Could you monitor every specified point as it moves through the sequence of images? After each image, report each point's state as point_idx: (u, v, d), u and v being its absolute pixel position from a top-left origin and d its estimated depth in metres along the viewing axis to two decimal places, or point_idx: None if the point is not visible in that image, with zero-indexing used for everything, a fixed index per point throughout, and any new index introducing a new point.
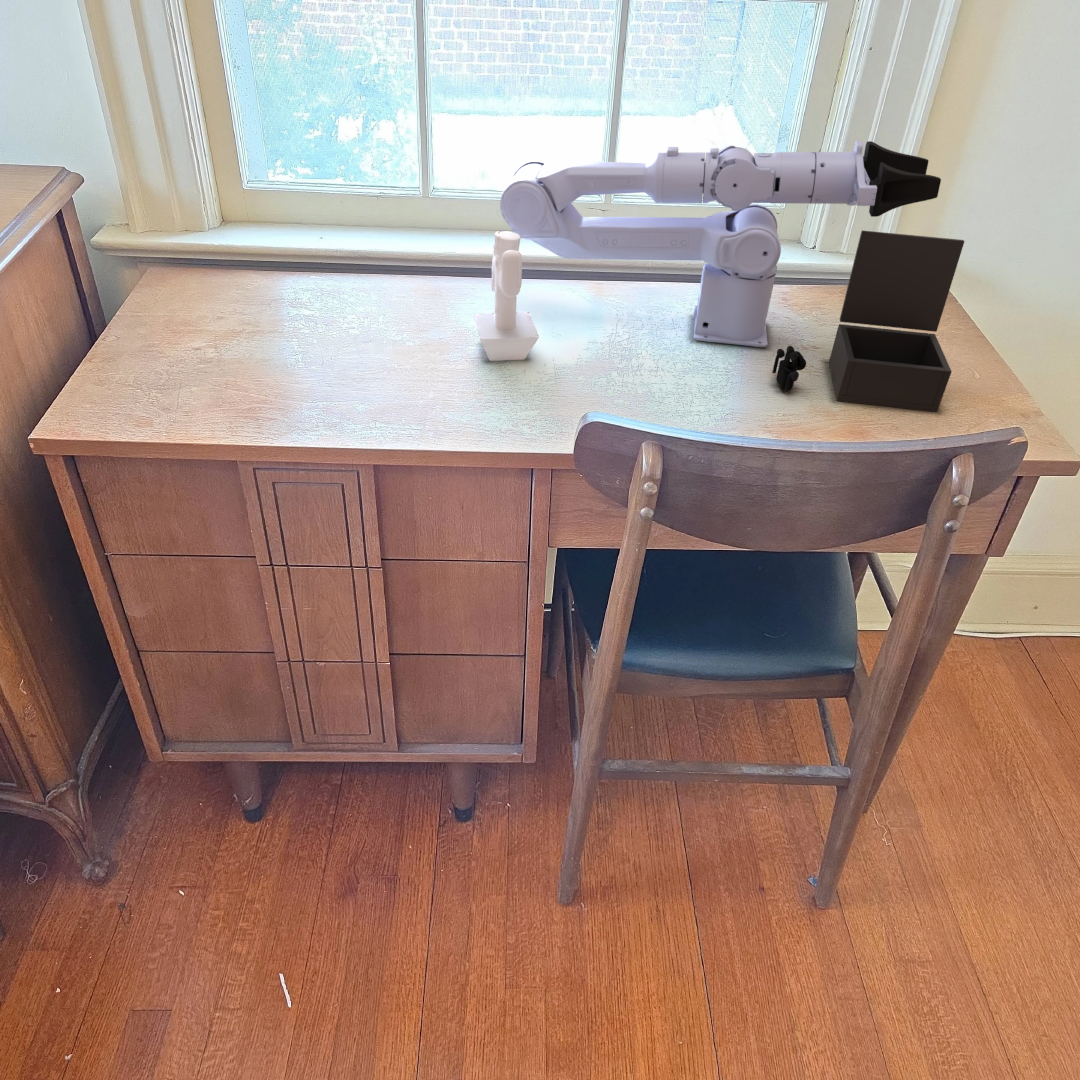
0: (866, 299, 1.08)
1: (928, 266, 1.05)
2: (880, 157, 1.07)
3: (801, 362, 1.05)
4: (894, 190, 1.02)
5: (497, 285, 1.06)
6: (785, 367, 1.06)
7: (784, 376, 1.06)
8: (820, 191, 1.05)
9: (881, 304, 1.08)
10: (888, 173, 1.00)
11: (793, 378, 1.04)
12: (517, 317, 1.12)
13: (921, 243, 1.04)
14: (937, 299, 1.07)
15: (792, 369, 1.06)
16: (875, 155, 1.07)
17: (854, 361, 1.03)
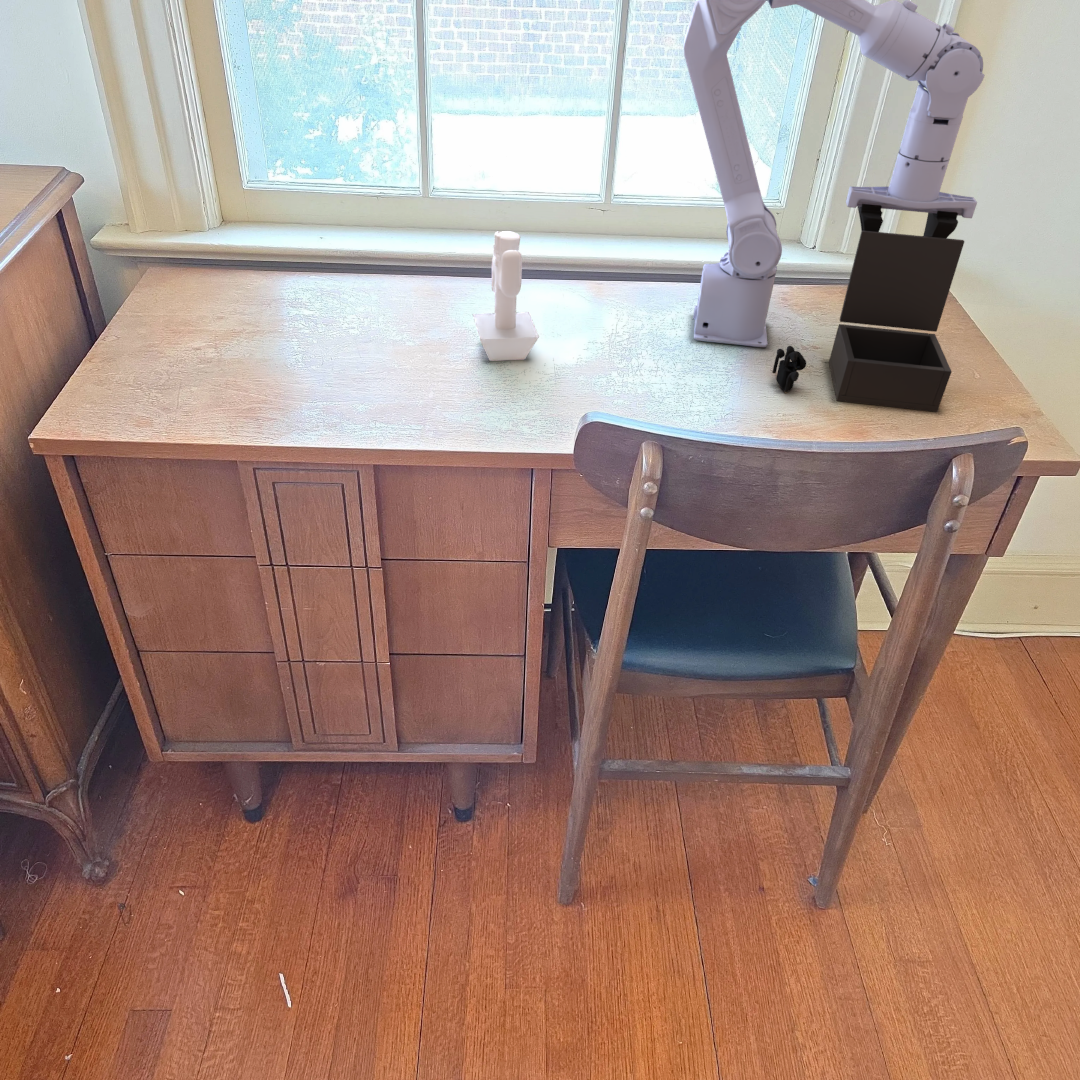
0: (866, 299, 1.08)
1: (928, 266, 1.05)
2: None
3: (801, 362, 1.05)
4: None
5: (497, 285, 1.06)
6: (785, 367, 1.06)
7: (784, 376, 1.06)
8: None
9: (881, 304, 1.08)
10: None
11: (793, 378, 1.04)
12: (517, 317, 1.12)
13: (921, 243, 1.04)
14: (937, 299, 1.07)
15: (792, 369, 1.06)
16: None
17: (854, 361, 1.03)
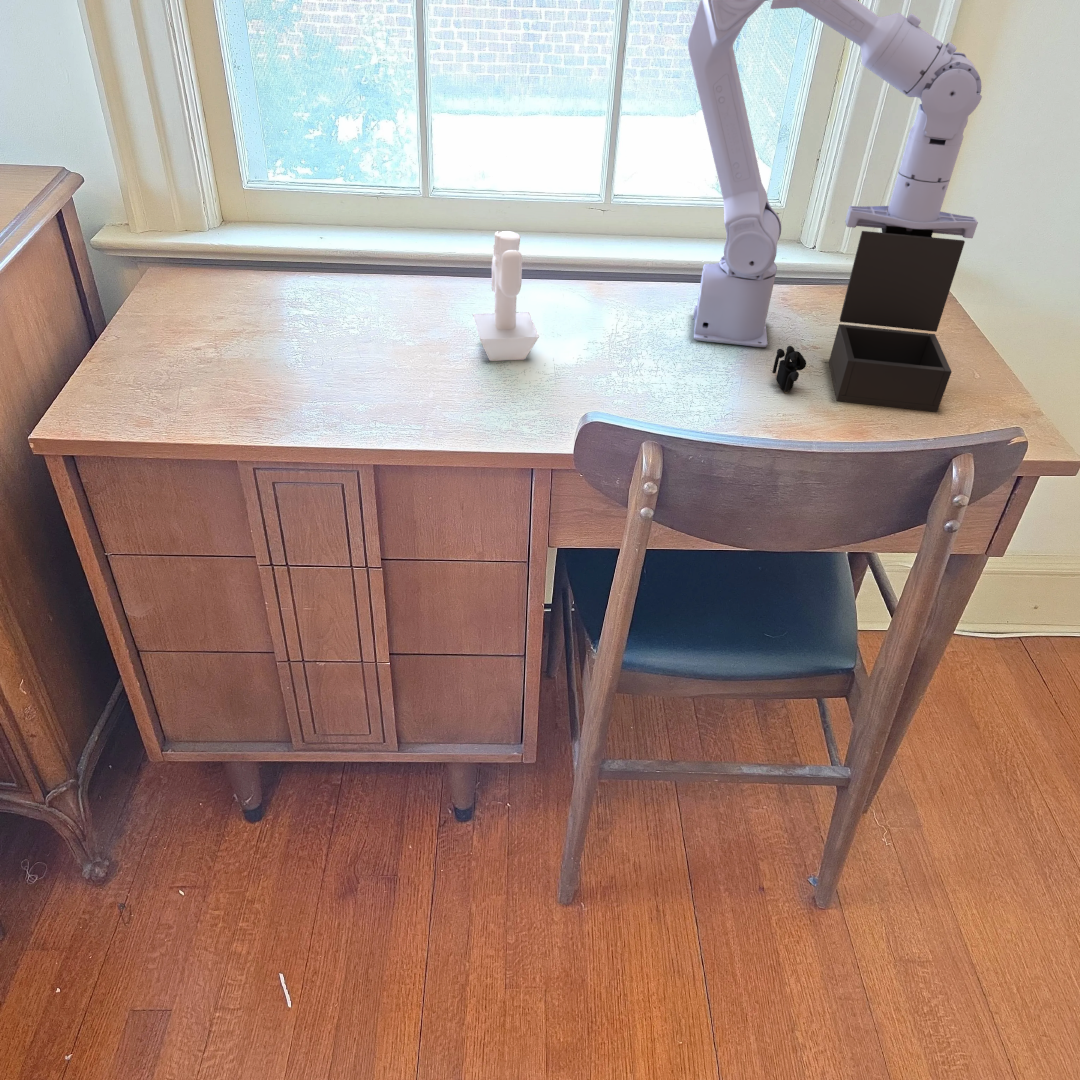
0: (866, 299, 1.08)
1: (928, 266, 1.05)
2: None
3: (801, 362, 1.05)
4: None
5: (497, 285, 1.06)
6: (785, 367, 1.06)
7: (784, 376, 1.06)
8: (947, 186, 1.02)
9: (881, 304, 1.08)
10: None
11: (793, 378, 1.04)
12: (517, 317, 1.12)
13: (921, 243, 1.04)
14: (937, 300, 1.07)
15: (792, 369, 1.06)
16: None
17: (854, 361, 1.03)
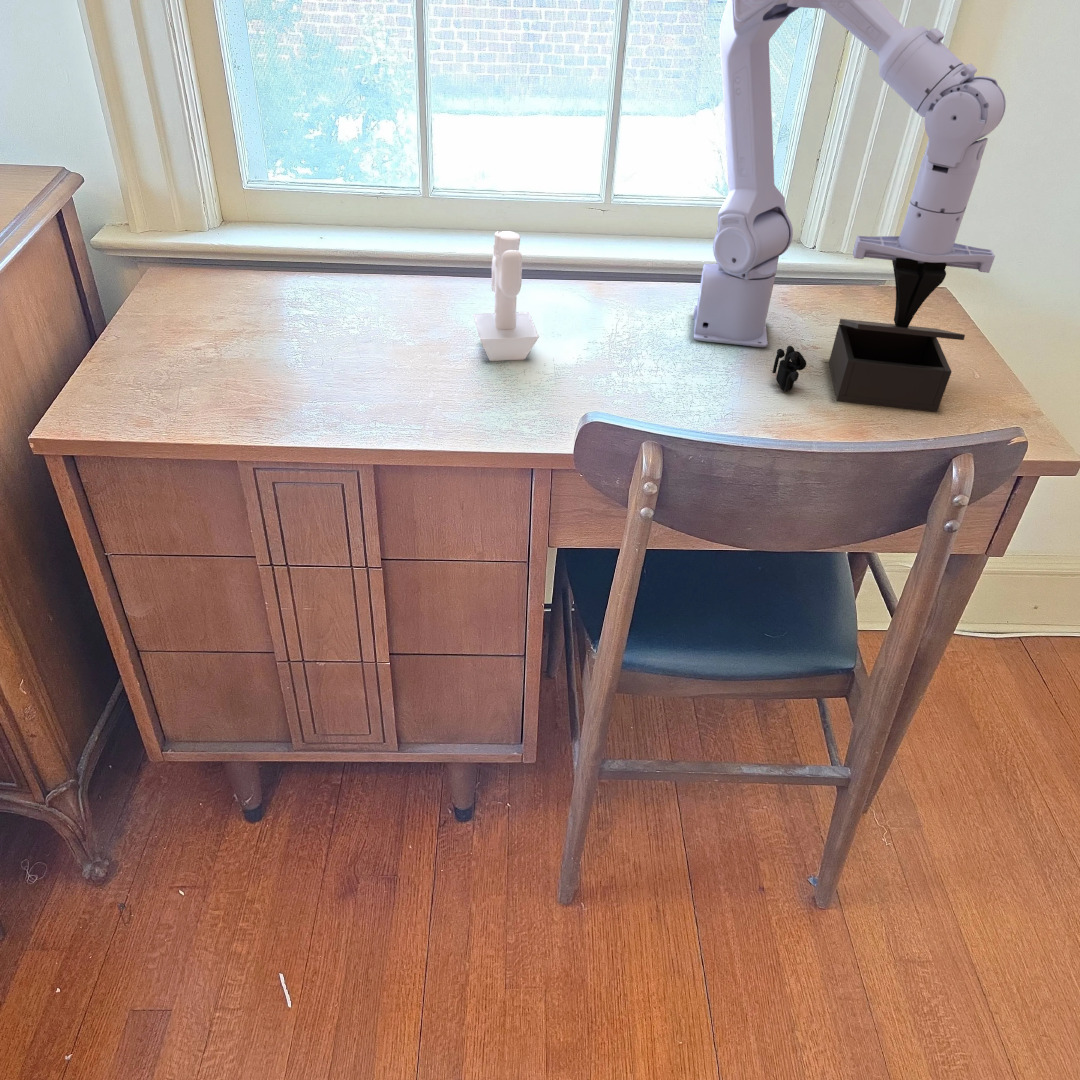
0: None
1: None
2: None
3: (801, 362, 1.05)
4: None
5: (497, 285, 1.06)
6: (785, 367, 1.06)
7: (784, 376, 1.06)
8: (962, 217, 0.95)
9: None
10: None
11: (793, 378, 1.04)
12: (517, 317, 1.12)
13: None
14: None
15: (792, 369, 1.06)
16: None
17: (854, 361, 1.03)
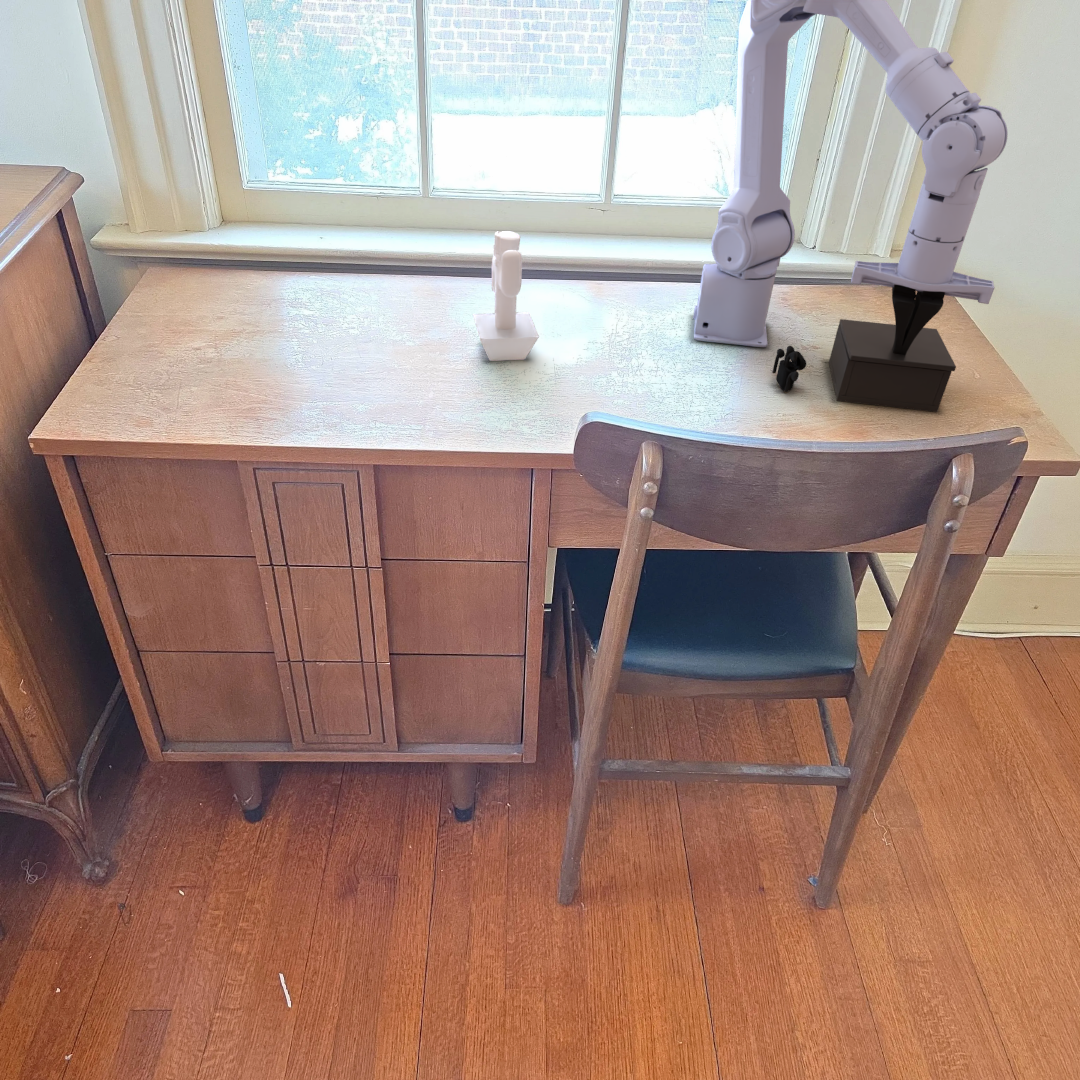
0: None
1: None
2: None
3: (801, 362, 1.05)
4: None
5: (497, 285, 1.06)
6: (785, 367, 1.06)
7: (784, 376, 1.06)
8: (961, 247, 0.94)
9: None
10: None
11: (793, 378, 1.04)
12: (517, 317, 1.12)
13: None
14: None
15: (792, 369, 1.06)
16: None
17: (854, 361, 1.03)
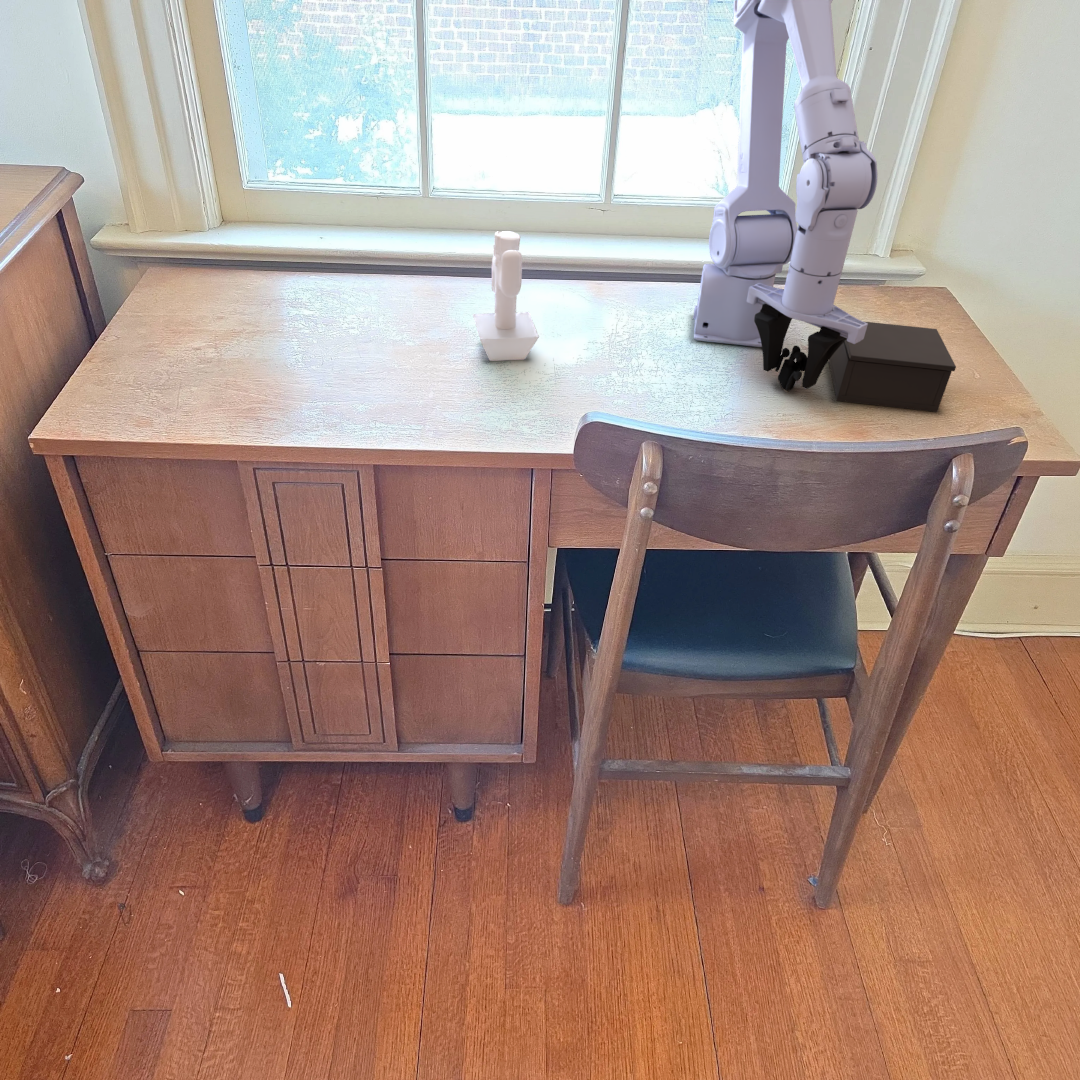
0: None
1: None
2: (786, 323, 1.06)
3: (805, 363, 1.05)
4: None
5: (497, 285, 1.06)
6: (789, 366, 1.06)
7: (787, 375, 1.06)
8: (831, 283, 0.98)
9: None
10: (846, 338, 1.02)
11: (796, 377, 1.04)
12: (517, 317, 1.12)
13: None
14: None
15: (795, 369, 1.06)
16: (789, 317, 1.06)
17: (854, 361, 1.03)
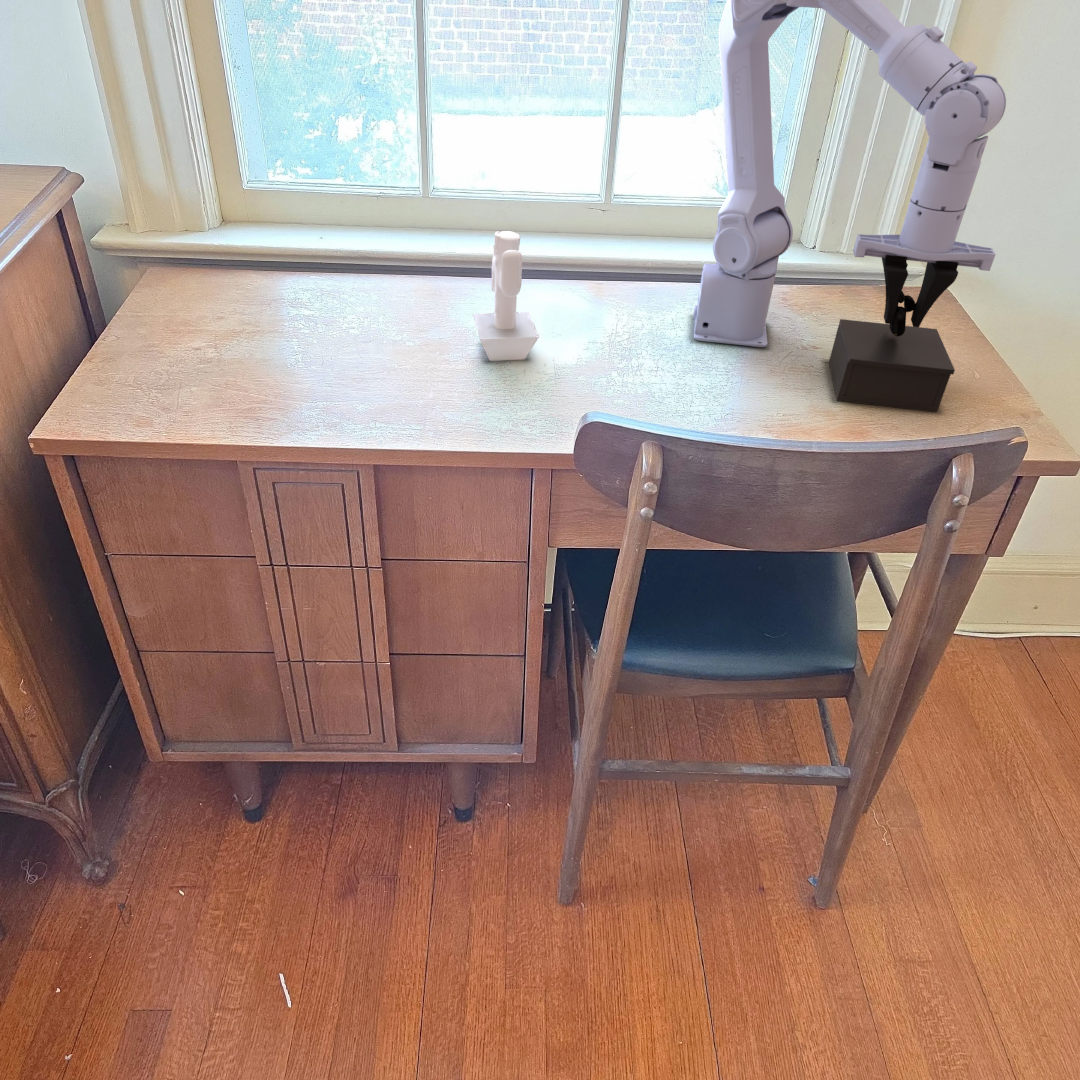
0: None
1: None
2: None
3: (908, 302, 1.03)
4: None
5: (497, 285, 1.06)
6: None
7: (893, 320, 1.04)
8: None
9: None
10: None
11: (898, 317, 1.02)
12: (517, 317, 1.12)
13: None
14: None
15: None
16: None
17: None
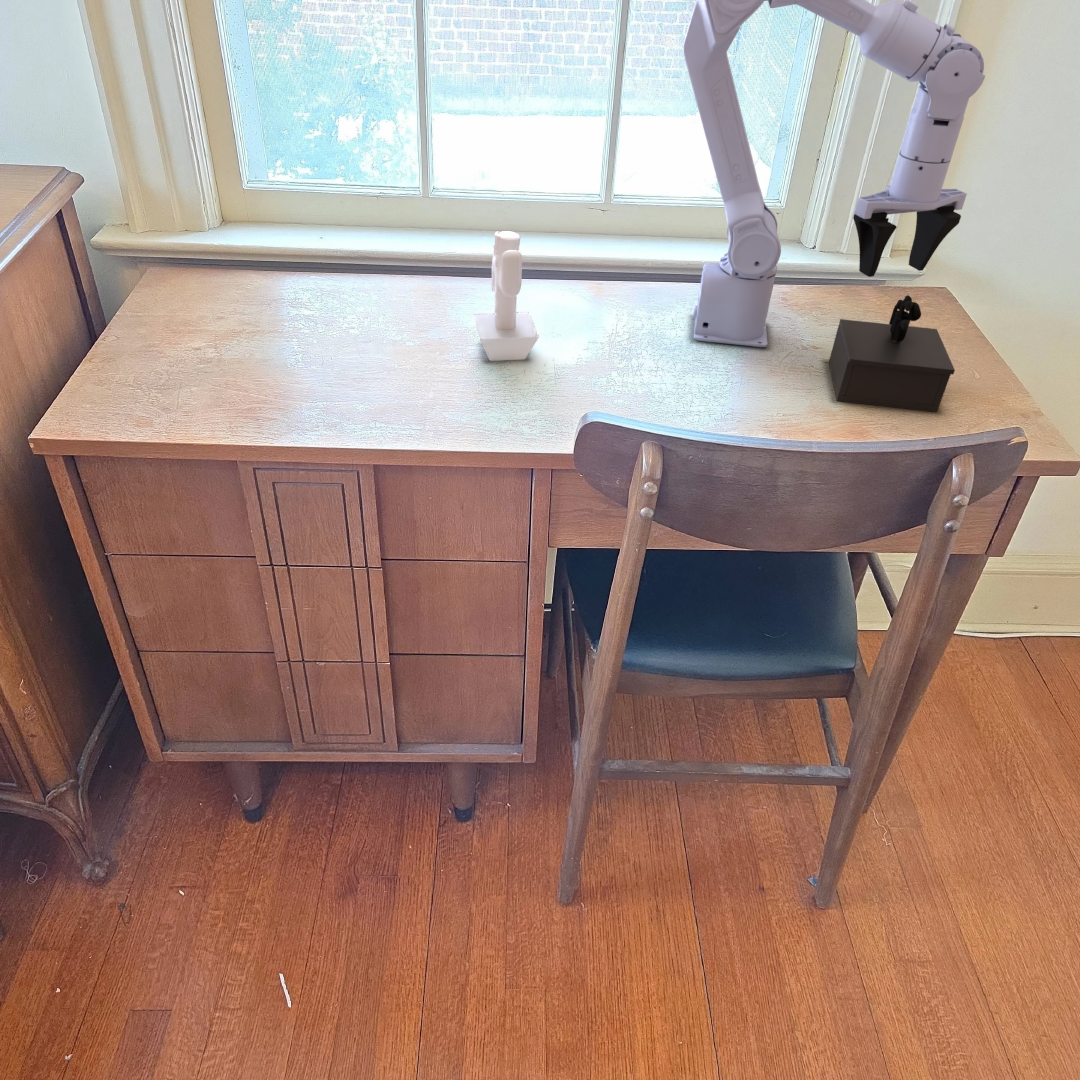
0: None
1: None
2: None
3: (915, 312, 1.03)
4: None
5: (497, 285, 1.06)
6: (898, 316, 1.04)
7: (896, 325, 1.04)
8: None
9: None
10: None
11: (902, 326, 1.02)
12: (517, 317, 1.12)
13: None
14: None
15: (906, 319, 1.04)
16: None
17: None
